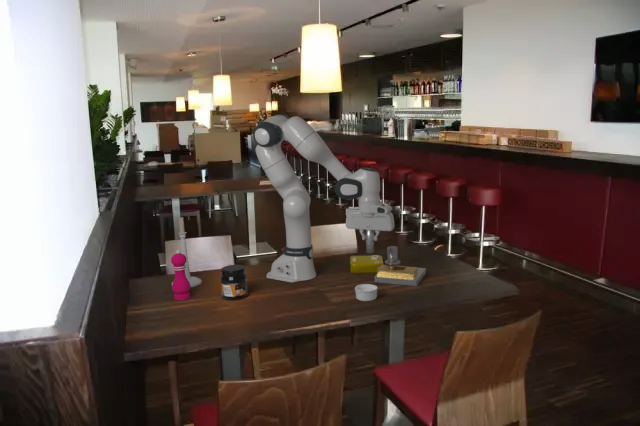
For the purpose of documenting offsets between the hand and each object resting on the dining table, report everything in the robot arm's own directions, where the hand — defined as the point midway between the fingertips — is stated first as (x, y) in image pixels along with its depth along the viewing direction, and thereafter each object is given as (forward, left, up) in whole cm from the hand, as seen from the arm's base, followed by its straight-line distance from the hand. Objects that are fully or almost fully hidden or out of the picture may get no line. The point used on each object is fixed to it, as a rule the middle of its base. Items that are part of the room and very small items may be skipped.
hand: (369, 240), depth 217 cm
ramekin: (+4, -16, -19) cm, 26 cm away
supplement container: (-47, -31, -19) cm, 60 cm away
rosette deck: (+10, +12, -19) cm, 24 cm away
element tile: (-9, +22, -20) cm, 31 cm away
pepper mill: (-67, -39, -19) cm, 80 cm away
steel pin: (0, 0, -5) cm, 5 cm away
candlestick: (-77, -23, -19) cm, 83 cm away
